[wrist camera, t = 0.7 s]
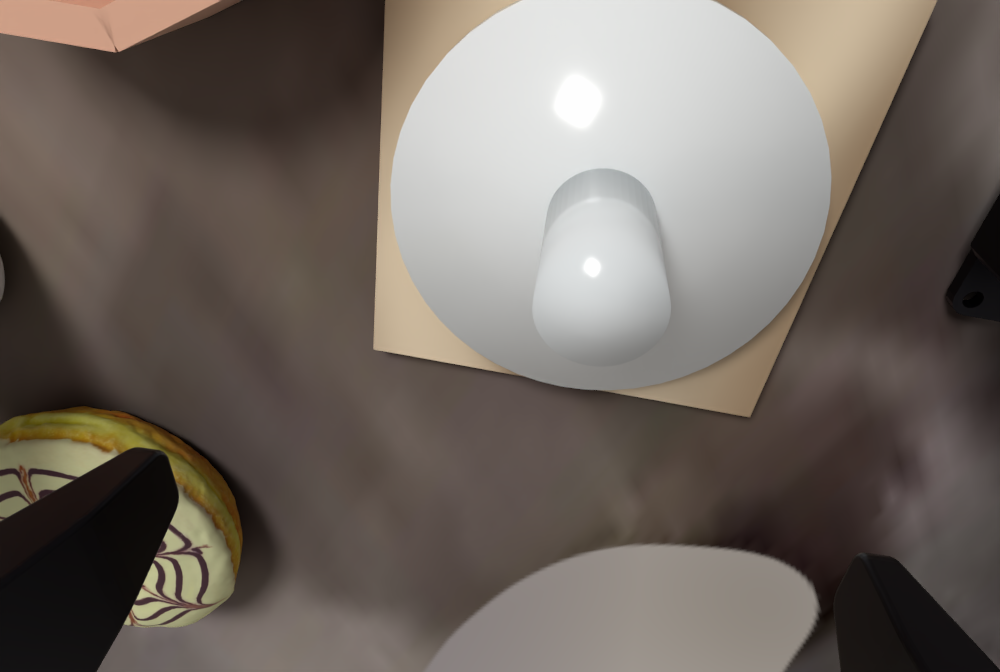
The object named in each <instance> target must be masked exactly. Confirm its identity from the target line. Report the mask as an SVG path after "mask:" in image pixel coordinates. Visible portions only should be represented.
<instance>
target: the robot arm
mask: <svg viewBox="0 0 1000 672" xmlns="http://www.w3.org/2000/svg"><path fill="white" fill-rule="evenodd" d="M971 247H972V249H971V251H970V253H969V255H968V256H967V258H966V260H965V261H964V263H963V265H962V267H961V268H960V270H959V272H958V273H957V275H956V277H955V279H954V280H953V282H952V284H951V285H950V287H949V289H948V292H947V295H946V296H947V301H948V302H949V304H950V305H951V306H952V307H953V309H954V310H955V311H956V312H957V313H959V314H962V315H965V316H971V317H977V318H982V319H988V320H994V321H999V322H1000V195H999V196H998V198H997V200H996V201H995V203H994V205H993V207H992V208H991V210H990V212H989V213H988V215H987V217H986V219H985V220H984V222H983V224H982V226H981V227H980V229H979V231H978V232H977V234H976V236H975V238H974V239H973V241H972V243H971ZM971 292H977V293H976V295H975V296H974V297H973V298H971V299H968V300H963V298H964V297H965V296H966V295H967V294H969V293H971ZM178 503H179V491H178V487H177V484H176V481H175V477H174V474H173V471H172V468H171V465H170V462H169V458H168V456H167V455H166V454H165V453H164V452H163V451H161V450H156V449H149V448H142V447H134V448H131V449H128V450H126V451H124V452H123V453H121V454H119V455H117V456H116V457H114V458H112V459H110V460H108V461H107V462H105V463H103V464H101V465H100V466H98V467H96V468H94V469H92V470H91V471H89V472H87V473H85V474H83V475H82V476H80V477H78V478H76V479H75V480H73V481H71V482H69V483H67V484H66V485H64V486H62V487H60V488H59V489H57V490H55V491H53V492H51V493H50V494H48V495H46V496H44V497H43V498H41V499H39V500H37V501H35V502H34V503H32V504H30V505H28V506H27V507H25V508H23V509H21V510H19V511H18V512H16V513H14V514H12V515H11V516H9V517H7V518H5V519H3V520H2V521H0V672H97V670H98V668H99V666H100V665H101V663H102V661H103V659H104V658H105V656H106V654H107V652H108V651H109V649H110V647H111V645H112V644H113V642H114V640H115V639H116V637H117V635H118V633H119V632H120V630H121V628H122V626H123V624H124V623H125V621H126V619H127V617H128V615H129V613H130V611H131V609H132V607H133V605H134V603H135V601H136V599H137V597H138V595H139V593H140V590H141V588H142V586H143V584H144V581H145V579H146V577H147V575H148V573H149V570H150V568H151V566H152V564H153V561H154V559H155V557H156V555H157V552H158V550H159V548H160V546H161V544H162V541H163V539H164V537H165V535H166V532H167V530H168V528H169V526H170V523H171V521H172V519H173V517H174V514H175V512H176V510H177V507H178ZM834 617H835V626H836V634H837V643H838V651H839V660H840V668H841V672H1000V669H999V668H998V667H997V666H996V665H995V664H994V663H993V662H992V661H991V660H990V659H989V658H988V657H987V655H986V654H985V653H984V652H983V651H982V650H981V649H980V648H979V647H978V646H977V645H976V644H975V643H974V642H973V640H972V639H971V638H970V637H969V636H968V635H967V634H966V633H965V632H964V631H963V630H962V629H961V628H960V626H959V625H958V624H957V623H956V622H955V621H954V620H953V619H952V618H951V617H950V616H949V615H948V614H947V613H946V611H945V610H944V609H943V608H942V607H941V606H940V605H939V604H938V603H937V602H936V601H935V600H934V599H933V597H932V596H931V595H930V594H929V593H928V592H927V591H926V590H925V589H924V588H923V587H922V586H921V585H920V584H919V582H918V581H917V580H916V579H915V578H914V577H913V576H912V575H911V574H910V573H909V572H908V571H907V570H906V569H905V567H904V566H903V565H902V564H901V563H900V562H899V561H897V560H896V559H894V558H892V557H890V556H884V555H877V554H870V553H859V554H857V555H856V556H855V557H854V558H853V560H852V562H851V564H850V565H849V567H848V569H847V571H846V573H845V575H844V577H843V579H842V581H841V583H840V585H839V587H838V589H837V591H836V594H835V598H834Z"/></svg>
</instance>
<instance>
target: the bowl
mask: <svg viewBox="0 0 1000 672" xmlns="http://www.w3.org/2000/svg"><path fill="white" fill-rule="evenodd" d="M240 1H242V0H0V33H5V34H11V35H17V36H22V37H28V38H34V39H40V40H46V41H52V42H58V43H63V44H69V45H75V46H81V47H87V48H93V49H99V50H104V51H110V52H118V51H119V52H120V51H123V50H125V49H128V48H130V47H133V46H136V45H138V44H141V43H143V42H146V41H148V40H151V39H154V38H156V37H159V36H161V35H164V34H166V33H169V32H171V31H174V30H177V29H179V28H182V27H184V26H187V25H189V24H192V23H195V22H197V21H200V20H202V19H205V18H207V17H210V16H212V15H214V14H216V13H218V12H220V11H222V10H224V9H226V8H228V7H230V6H232V5H234V4H236V3H238V2H240Z"/></svg>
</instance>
